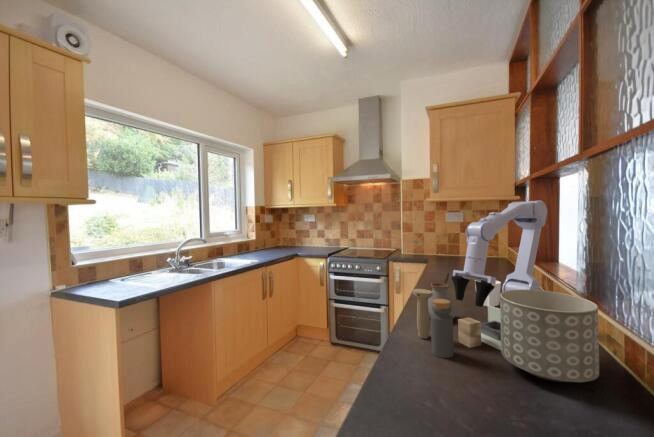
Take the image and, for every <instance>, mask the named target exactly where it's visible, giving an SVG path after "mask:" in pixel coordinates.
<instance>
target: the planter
mask: <svg viewBox="0 0 654 437" xmlns="http://www.w3.org/2000/svg"><path fill="white" fill-rule="evenodd" d="M499 307H500V308H499V309H500V315H501V350H500V351H501V355H502V356H503V358H504V359H505V360H506V361H507V362H508V363H510V364H512V365H513V366H515V367H517V368H518V369H521V370H523V371H525V372H527V373H528V374H530V375H533V376H535V377H537V378H539V379H542V380H546V381H550V382H555V383H556V382H557V383H586V382H592V381H595V380H596V379H598V378H599V376H600V351H599V350H600V348H599V347H600V346H599V345H600V343H599V342H600V341H599V340H600V339H599V337H600V336H599V306H598V304H596V303H595V302H593V301H591V300H589V299H586V298H583V297H579V296H576V295H572V294H568V293H562V292H558V291H550V290H542V289H540V290H525V289H520V290H508V291H504V292H503V291H502V292H500V303H499Z"/></svg>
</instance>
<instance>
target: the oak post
mask: <svg viewBox="0 0 654 437" xmlns="http://www.w3.org/2000/svg"><path fill="white" fill-rule="evenodd" d="M457 322H458V323H457V330H458V331H457V332H458V336H457V337H458V343H459V344H462V345H464V346H465V347H467V348H469V349H470V348H476V347H479V346H480V347H481V346H482V341H481V323H482V322H481V321H479V320H476V319H474V318H471V317H464V318H458V319H457Z"/></svg>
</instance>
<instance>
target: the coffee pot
mask: <svg viewBox="0 0 654 437" xmlns="http://www.w3.org/2000/svg"><path fill="white" fill-rule="evenodd" d="M450 275H451V276H450ZM452 277H453V274H451V273H450V272H447V273H446V274H445V277H444V279H443V283H442V282H440V283H439V282H433V283H430V287H431V289H432V290H431V291H432V292H433V296H432V297H430V298H428V307H429V319H430V320H431V315H432V314H433V313H434V311H433V310H432V306H433V305H434V304H433V300H434V299H446V300H449V301H450V307H451V312H450V313H449V315H451V316H452V317H453V319H454V318H456V315H457V310H456V308H455V306H454V303H453V301H452V299H451V297H450V295H449V292H448V289H449V288H450V285H449V284H447V282H448V280H449V278H452Z"/></svg>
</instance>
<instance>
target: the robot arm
mask: <svg viewBox="0 0 654 437" xmlns="http://www.w3.org/2000/svg"><path fill="white" fill-rule="evenodd" d="M547 215H548V208H547V204H546V203H545V202H544V201H543V200H542V199H538V200H526V201H512V202H511V203H509V204H508V205H507V207H506V208H504V209H503V210H502V211H501V212H494V211H493V212H492V211H491V212H490V213H489V214H488V215H487V216H485V217H482V218H480V220H479V221H478V222H477V221H476V222H475V221H474V222H470V223H469V224H468V225H467V227H466V228H465V236H466V241H465V242H466V244H467V247H466V253H465V260H464V266H463V270H458V269H457V270H456V269H453V271H452V276H451V280H452V283H453V285H454V292H455V300H456V301H462V302H463V300H464V297H465V292H466V289H467V286H468V284H469V282H470V281H471V280H473V281H474V285H475V284H476V287H475V294H476V295H475V305H474V306H476V307H480V308H483V307H484V305H483V304H484V302H485V300H486V298H487V296H488V295H489V293H490V292H491V291H492V290H493V289H494V288H495V286H493V285H492V284H495V283H496V280H497V277H494V276H490V275H485V269H486V264H487V257H488V250H489V244H490V241H493V240H494V239H495V236H496V234H497V233H498V232H499V231H502V229H504V228H505V227H506V226H507V223H508V222H509V221H511V220H513V222H514V223H515V224H516V225H517V226H518V227H521V228H522V232H521V236H520V237H521V238H520V242H519V243H520V244H519V249H518V253H517V258H516V262H515V268H514V271H513V272H510V273H509V274H507V275H506V279H505V280H504V282H503V284H502V285H501V286H502V287H501V290H502V292H504V291H508V290H520V289H525V290H541V282H540V281H539V280H538V279H537V278H536V277H535V276H533V273H534V268H535V264H536V258H537V252H538V248H539V243H540V242H539V241H540V237H541V231H542V227H543V228H544V227H545V225H546V221H547ZM475 280H477V281H475ZM479 281H481V282H479Z"/></svg>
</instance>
